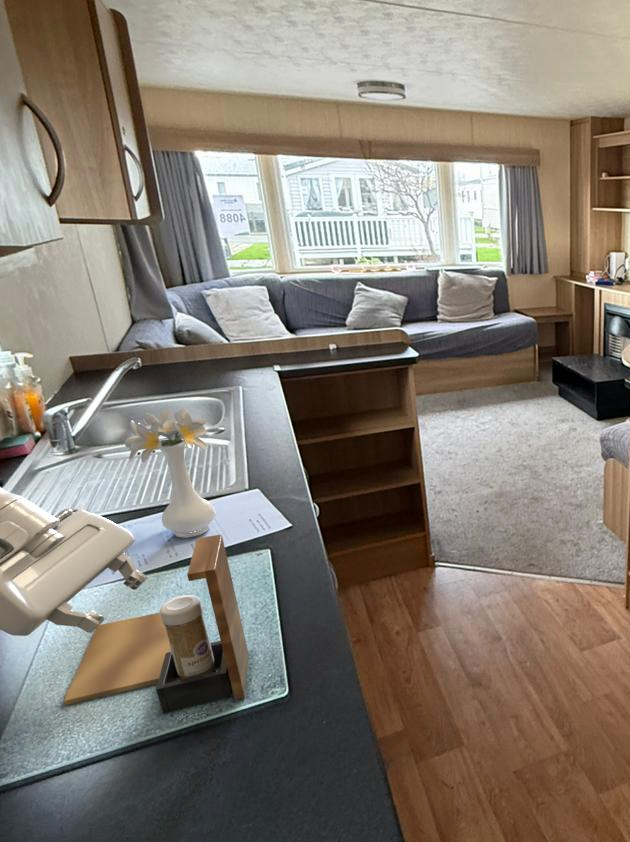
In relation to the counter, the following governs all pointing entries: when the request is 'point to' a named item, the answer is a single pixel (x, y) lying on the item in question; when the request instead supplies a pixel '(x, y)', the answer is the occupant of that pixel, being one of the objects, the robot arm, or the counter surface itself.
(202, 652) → the sprinkles bottle
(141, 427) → the flower vase
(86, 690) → the cork mat
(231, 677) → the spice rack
